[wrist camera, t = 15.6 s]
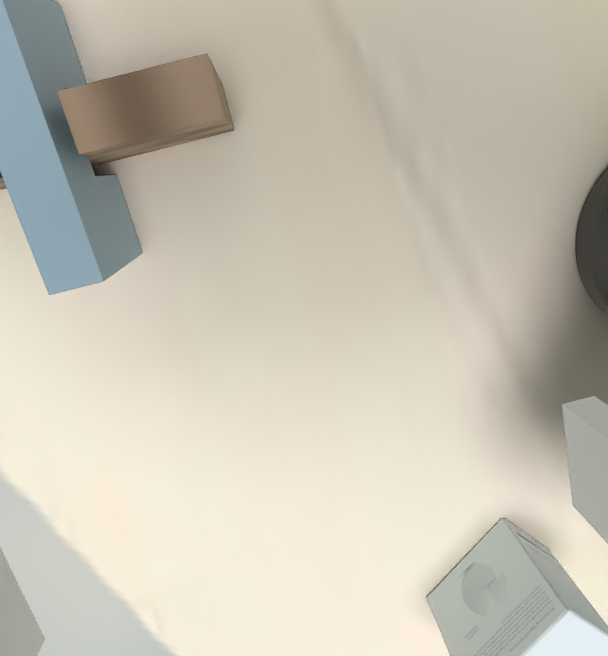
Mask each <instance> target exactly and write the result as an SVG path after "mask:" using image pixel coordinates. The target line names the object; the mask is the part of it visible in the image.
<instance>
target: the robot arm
mask: <svg viewBox="0 0 608 656" xmlns="http://www.w3.org/2000/svg"><path fill="white" fill-rule="evenodd" d="M576 256H577V264H578V268H579V272H580V276H581V279H582V281H583V284H584V286H585V288H586V290H587V292H588V293H589V295H590V296H591V298H592V299H593V300H594V302H595V303H596V304H597V305H598V306H599V307H600V308H601V309H602V310H603V311H605V312H606V313H607V314H608V168H607V169H606V170H605V171H604V173H603V174H602V175H601V177H600V178H599V179H598V181H597V182H596V184H595V186H594V187H593V189H592V191H591V193H590V194H589V196H588V199H587V201H586V203H585V206H584V208H583V211H582V214H581V217H580V221H579V225H578V231H577V240H576ZM562 411H563V420H564V430H565V439H566V448H567V457H568V466H569V476H570V485H571V494H572V503H573V506H574V507H575V508H576V510H577V511H578V512H579V513H580V514H581V515H582V516H583V517H584V518H585V519H586V521H587V522H588V523H589V524H590V525H591V526H592V527H593V528H594V529H595V530H596V531H597V533H598V534H599V535H600V536H601V537H602V538H603V539H604V540H605V541H606V542H607V544H608V405H607V404H606V403H604V402H603V401H601V400H600V399H598V398H597V397H596V396H592V397H588V398H584V399H580V400H576V401H572V402H568V403H564V404H562ZM44 640H45V638H44V636H43V634H42V631H41V629H40V627H39V625H38V623H37V621H36V619H35V617H34V615H33V613H32V611H31V609H30V607H29V605H28V603H27V601H26V599H25V597H24V595H23V593H22V591H21V589H20V587H19V585H18V583H17V581H16V578H15V576H14V575H13V572H12V570H11V568H10V566H9V564H8V562H7V560H6V558H5V556H4V554H3V552H2V550H1V548H0V656H37V655H38V653H39V651H40V649H41V646H42V644H43V642H44Z"/></svg>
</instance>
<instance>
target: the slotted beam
mask: <svg viewBox="0 0 608 656" xmlns="http://www.w3.org/2000/svg"><path fill="white" fill-rule="evenodd" d="M57 92H58V95H59V98H60V101H61V104H62V107H63V110H64V113H65V115H66V118H67V121H68V124H69V127H70V130H71V133H72V136H73V138H74V141H75V144H76V147H77V150H78V153H79V154H80V155H88V156H89V159H90V162H91V165H92V166H95V165H99V164H103V163H107V162H111V161H115V160H119V159H123V158H127V157H131V156H135V155H139V154H143V153H146V152H150V151H154V150H158V149H162V148H166V147H170V146H174V145H178V144H182V143H186V142H190V141H194V140H198V139H202V138H206V137H210V136H214V135H218V134H222V133H226V132H230V131H234V128H233V124H232V120H231V116H230V112H229V109H228V105H227V101H226V97H225V93H224V90H223V86H222V83H221V81H220V79H219V77H218V75H217V73H216V71H215V69H214V67H213V65H212V63H211V60H210V58H209V56H208V54H203V55H199V56H195V57H191V58H187V59H183V60H179V61H175V62H171V63H167V64H163V65H159V66H155V67H152V68H148V69H144V70H140V71H136V72H132V73H128V74H124V75H120V76H116V77H112V78H108V79H104V80H100V81H96V82H92V83H88V84H84V85H80V86H76V87H72V88H68V89H64V90H60V91H57ZM4 188H7V187H6V184H5V182H4V179H3V176H2V174H1V171H0V189H4Z"/></svg>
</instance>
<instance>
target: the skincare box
mask: <svg viewBox="0 0 608 656" xmlns="http://www.w3.org/2000/svg"><path fill="white" fill-rule="evenodd" d="M427 601H428V604H429V606H430V608H431V611H432V613H433V615H434V617H435V620H436V622H437V625H438V627H439V630H440V632H441V634H442V637H443V639H444V642H445V644H446V647H447V649H448V651H449V654H450V656H608V626H607V625H606V623H605V622H604V621H603V619H602V618H601V617H600V615H599V614H598V613H597V611H596V610H595V609H594V608H593V606H592V605H591V604H590V602H589V601H588V600H587V598H586V597H585V596H584V595H583V593H582V592H581V591H580V589H579V588H578V587H577V585H576V584H575V583H574V581H573V580H572V579H571V577H570V576H569V575H568V574H567V572H566V571H565V570H564V568H563V567H562V566H561V564H560V563H559V562H558V561H557V559H556V558H555V557H554V555H553V554H552V553H551V551H550V550H549V549H547V548H546V547H545V546H543V545H542V544H540V543H539V542H537V541H536V540H534V539H533V538H531V537H530V536H529V535H527V534H526V533H524V532H523V531H522V530H520V529H519V528H517V527H516V526H515V525H513V524H512V523H510V522H509V521H508V520H506V519H503V518H502V519H501V520H500V521H499V522H498V523H497V524H496V525H495V526H494V527H493V528H492V529H491V530H490V531H489V532H488V533H487V534H486V535H485V536H484V538H483V539H482V540H481V541H480V542H479V543H478V544H477V545H476V546H475V547H474V548H473V549H472V550H471V551H470V552H469V553H468V554H467V555H466V556H465V558H464V559H463V560H462V561H461V562H460V563H459V564H458V565H457V566H456V567H455V568H454V569H453V570H452V571H451V572H450V573H449V574H448V576H447V577H446V578H445V579H444V580H443V581H442V582H441V583H440V584H439V585H438V586H437V587H436V588H435V589H434V590H433V591H432V593H431V594H430V595H429V596H428V597H427Z"/></svg>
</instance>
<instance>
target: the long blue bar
mask: <svg viewBox="0 0 608 656" xmlns="http://www.w3.org/2000/svg"><path fill="white" fill-rule="evenodd" d="M84 84H86V81H85V78H84V74H83V71H82V68H81V65H80V62H79V59H78V56H77V53H76V50H75V47H74V44H73V41H72V38H71V35H70V32H69V29H68V26H67V23H66V20H65V17H64V14H63V11H62V8H61V5H59V4H58V3H57V2H56V1H54V0H0V171H1V174H2V176H3V179H4V182H5V184H6V187H7V189H8V192H9V194H10V197H11V199H12V202H13V204H14V207H15V210H16V212H17V215H18V217H19V220H20V222H21V225H22V227H23V230H24V232H25V235H26V238H27V240H28V243H29V245H30V248H31V250H32V253H33V255H34V258H35V260H36V263H37V266H38V268H39V271H40V273H41V276H42V278H43V281H44V283H45V286H46V288H47V291H48V293H49V295H52V294H56V293H60V292H63V291H67V290H71V289H75V288H79V287H83V286H87V285H91V284H95V283H99V282H103V281H105V280H106V279H107V278H109V277H110V276H112V275H113V274H114V273H116V272H117V271H119V270H120V269H121V268H123V267H124V266H125V265H127V264H128V263H130V262H131V261H132V260H134V259H135V258H137V257H138V256H139V255H141V254H142V253H143V252H142V249H141V246H140V243H139V240H138V237H137V234H136V231H135V228H134V225H133V222H132V219H131V216H130V213H129V210H128V207H127V204H126V201H125V198H124V195H123V192H122V189H121V186H120V183H119V180H118V177H117V175H107V176H95V174H94V171H93V168H92V165H91V162H90V159H89V156H88V155H80V154H79V153H78V150H77V147H76V144H75V141H74V138H73V136H72V133H71V130H70V127H69V124H68V121H67V118H66V115H65V113H64V110H63V107H62V104H61V101H60V98H59V95H58V92H57V91H60V90H64V89H68V88H72V87H76V86H80V85H84Z"/></svg>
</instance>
